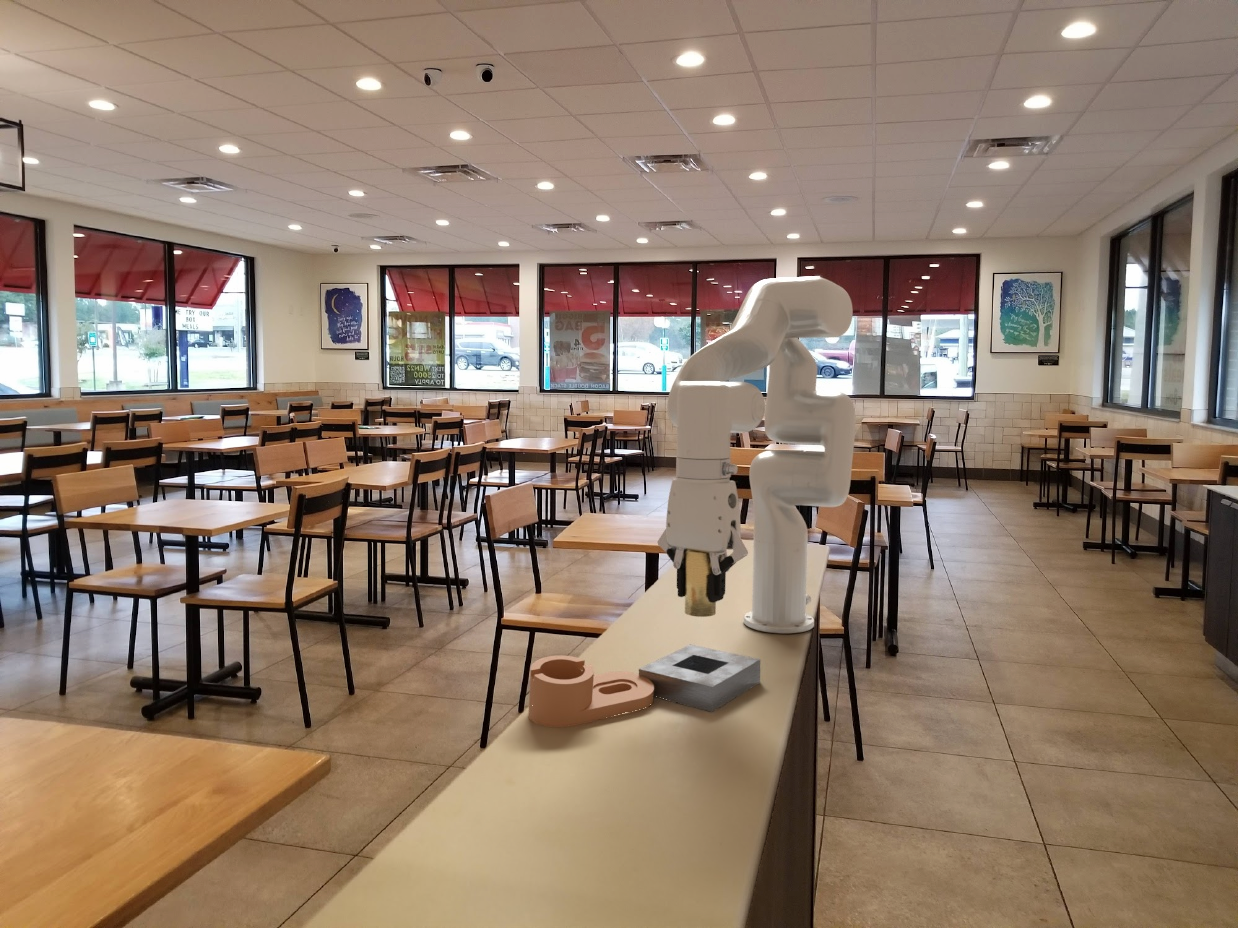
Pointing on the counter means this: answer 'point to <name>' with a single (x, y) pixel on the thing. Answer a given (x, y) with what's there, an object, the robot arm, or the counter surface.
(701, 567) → the gold rounded cylinder
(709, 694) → the plate
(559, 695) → the bracket
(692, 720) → the counter surface
